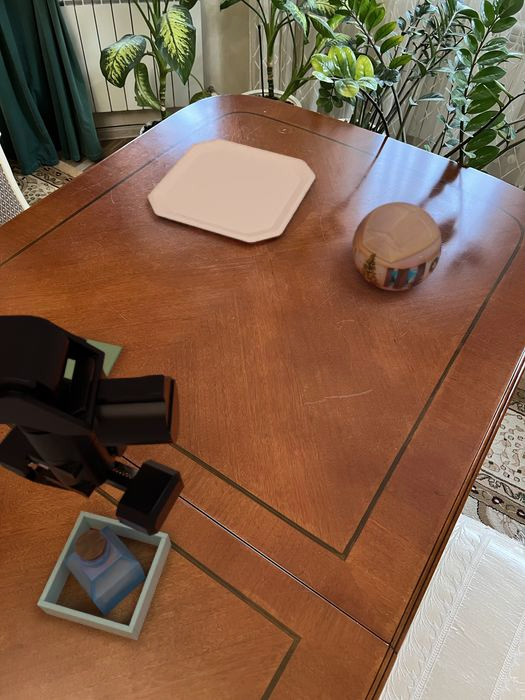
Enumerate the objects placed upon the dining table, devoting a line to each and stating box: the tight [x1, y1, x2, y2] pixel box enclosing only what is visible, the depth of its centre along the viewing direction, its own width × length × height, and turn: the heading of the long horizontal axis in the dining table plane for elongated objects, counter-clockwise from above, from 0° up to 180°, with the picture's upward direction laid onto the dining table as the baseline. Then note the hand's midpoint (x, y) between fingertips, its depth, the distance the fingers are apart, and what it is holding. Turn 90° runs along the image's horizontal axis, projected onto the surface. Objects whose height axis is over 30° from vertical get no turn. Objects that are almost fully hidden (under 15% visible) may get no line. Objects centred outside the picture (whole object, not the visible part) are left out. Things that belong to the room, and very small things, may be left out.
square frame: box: [36, 510, 172, 641], centre depth 69 cm, size 12×12×4 cm
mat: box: [64, 338, 123, 379], centre depth 91 cm, size 8×8×1 cm
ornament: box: [351, 201, 443, 292], centre depth 98 cm, size 15×15×15 cm
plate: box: [147, 138, 316, 244], centre depth 118 cm, size 29×29×2 cm
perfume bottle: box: [63, 525, 147, 616], centre depth 66 cm, size 6×6×12 cm
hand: (109, 502), depth 63 cm, fingers open, 9 cm apart
